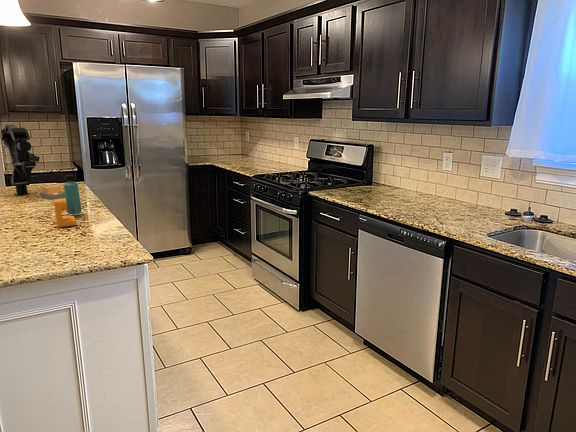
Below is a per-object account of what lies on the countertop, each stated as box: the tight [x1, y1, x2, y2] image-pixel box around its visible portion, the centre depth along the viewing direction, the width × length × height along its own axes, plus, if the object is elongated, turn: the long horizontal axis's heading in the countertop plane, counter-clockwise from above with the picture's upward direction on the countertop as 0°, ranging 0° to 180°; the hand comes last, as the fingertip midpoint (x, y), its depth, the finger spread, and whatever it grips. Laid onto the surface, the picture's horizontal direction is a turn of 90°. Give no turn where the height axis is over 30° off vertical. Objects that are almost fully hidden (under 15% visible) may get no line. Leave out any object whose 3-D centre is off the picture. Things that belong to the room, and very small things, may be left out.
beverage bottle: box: [63, 174, 82, 215], centre depth 204 cm, size 6×7×20 cm
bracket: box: [53, 198, 77, 228], centre depth 189 cm, size 11×7×12 cm, turn 31°
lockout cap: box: [41, 184, 62, 194], centre depth 247 cm, size 7×7×4 cm
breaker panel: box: [39, 189, 65, 201], centre depth 249 cm, size 14×12×3 cm
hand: (25, 177), depth 243 cm, fingers open, 9 cm apart
